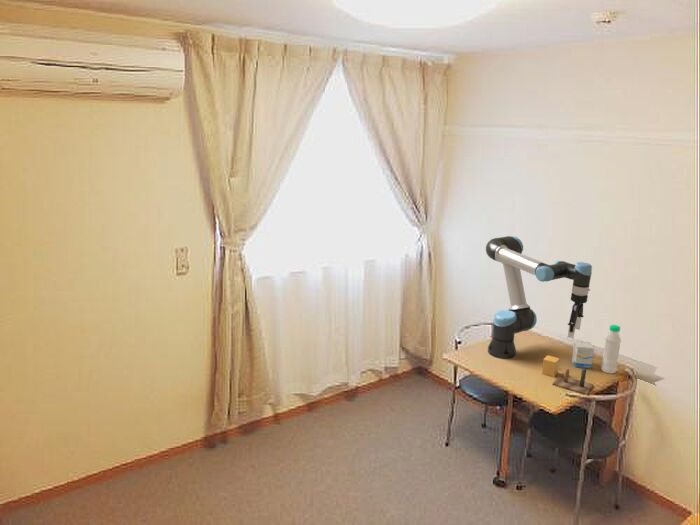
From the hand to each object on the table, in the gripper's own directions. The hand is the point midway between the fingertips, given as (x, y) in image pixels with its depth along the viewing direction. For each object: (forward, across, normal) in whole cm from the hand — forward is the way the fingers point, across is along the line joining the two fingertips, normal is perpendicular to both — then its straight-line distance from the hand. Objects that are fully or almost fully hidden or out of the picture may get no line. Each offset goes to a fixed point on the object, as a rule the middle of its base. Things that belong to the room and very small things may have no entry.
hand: (573, 333), depth 263 cm
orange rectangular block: (+21, -8, +7) cm, 24 cm away
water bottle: (+21, +13, -17) cm, 30 cm away
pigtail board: (+21, -15, -6) cm, 26 cm away
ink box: (+22, +12, -4) cm, 25 cm away
